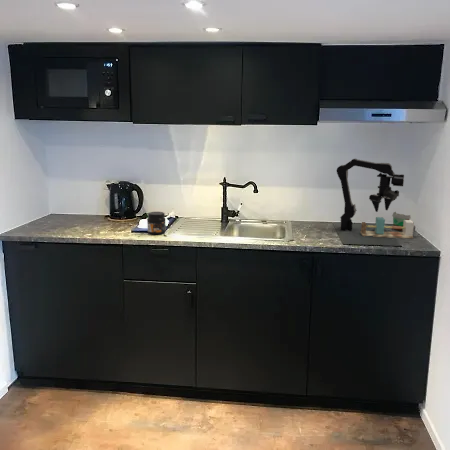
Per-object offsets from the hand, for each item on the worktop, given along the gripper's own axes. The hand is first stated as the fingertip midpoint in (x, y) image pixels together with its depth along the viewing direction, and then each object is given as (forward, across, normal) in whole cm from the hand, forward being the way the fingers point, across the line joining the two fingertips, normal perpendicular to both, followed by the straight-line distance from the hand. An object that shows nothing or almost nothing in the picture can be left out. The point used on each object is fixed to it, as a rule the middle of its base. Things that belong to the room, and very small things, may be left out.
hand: (381, 211), depth 280 cm
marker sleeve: (+12, -5, -3) cm, 13 cm away
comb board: (+13, -2, -6) cm, 15 cm away
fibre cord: (+9, -3, -5) cm, 11 cm away
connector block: (+12, +8, -15) cm, 21 cm away
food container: (+13, +16, -1) cm, 21 cm away
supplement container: (+16, -112, +70) cm, 133 cm away
